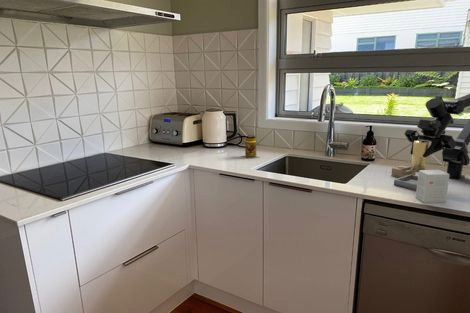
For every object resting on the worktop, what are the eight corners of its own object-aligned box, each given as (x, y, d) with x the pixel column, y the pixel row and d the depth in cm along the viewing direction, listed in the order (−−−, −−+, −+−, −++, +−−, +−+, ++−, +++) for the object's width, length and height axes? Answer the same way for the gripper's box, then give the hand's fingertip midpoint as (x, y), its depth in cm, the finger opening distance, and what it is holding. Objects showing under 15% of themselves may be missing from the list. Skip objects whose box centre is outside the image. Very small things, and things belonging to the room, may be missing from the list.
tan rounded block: (401, 172, 154) (402, 162, 153) (416, 176, 149) (417, 165, 148) (390, 175, 149) (391, 165, 148) (405, 179, 144) (406, 169, 143)
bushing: (411, 168, 138) (415, 139, 135) (426, 170, 135) (429, 140, 132) (409, 171, 134) (412, 141, 131) (424, 173, 131) (428, 143, 128)
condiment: (248, 159, 181) (248, 137, 178) (240, 156, 188) (240, 135, 186) (259, 157, 185) (260, 136, 182) (251, 154, 192) (251, 133, 189)
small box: (436, 197, 123) (440, 169, 121) (446, 202, 118) (450, 173, 115) (414, 197, 123) (418, 169, 121) (423, 203, 118) (427, 174, 115)
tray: (409, 179, 144) (410, 174, 144) (440, 186, 134) (441, 181, 134) (393, 184, 137) (394, 179, 137) (424, 192, 127) (425, 187, 127)
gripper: (409, 109, 139) (388, 138, 137) (455, 114, 123) (433, 147, 121) (419, 127, 144) (400, 155, 142) (465, 133, 128) (443, 165, 126)
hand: (417, 155), depth 133 cm, fingers closed on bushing, 5 cm apart
